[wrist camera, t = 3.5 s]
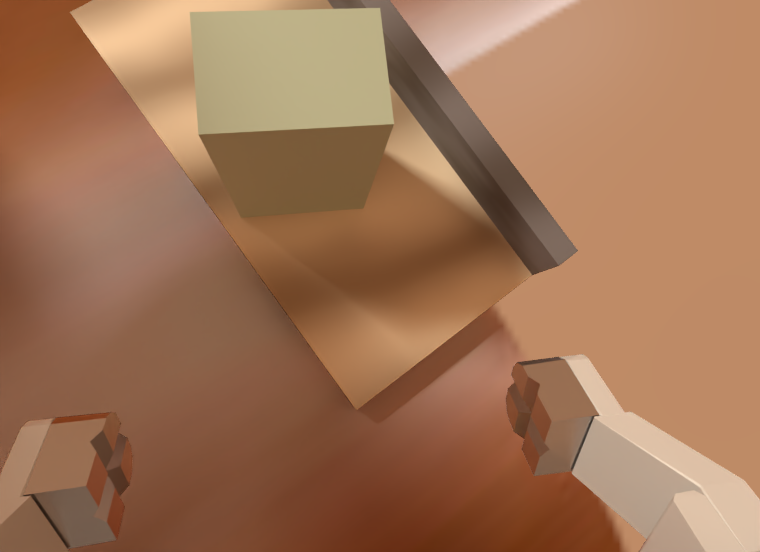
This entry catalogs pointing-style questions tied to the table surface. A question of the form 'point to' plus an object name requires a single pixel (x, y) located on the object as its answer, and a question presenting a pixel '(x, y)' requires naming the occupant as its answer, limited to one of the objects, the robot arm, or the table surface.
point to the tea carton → (292, 105)
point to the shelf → (356, 226)
